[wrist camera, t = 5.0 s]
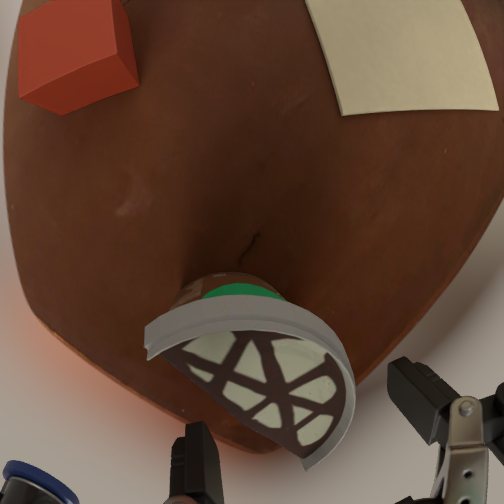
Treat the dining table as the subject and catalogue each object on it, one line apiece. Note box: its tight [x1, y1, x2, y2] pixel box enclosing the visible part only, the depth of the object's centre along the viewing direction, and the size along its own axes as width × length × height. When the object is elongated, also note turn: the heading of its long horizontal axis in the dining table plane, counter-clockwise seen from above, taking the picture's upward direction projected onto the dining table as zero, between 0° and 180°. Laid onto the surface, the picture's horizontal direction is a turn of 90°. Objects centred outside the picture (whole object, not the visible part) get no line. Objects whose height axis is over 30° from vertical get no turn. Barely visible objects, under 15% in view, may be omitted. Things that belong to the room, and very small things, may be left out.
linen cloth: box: [305, 0, 499, 116], centre depth 18 cm, size 20×18×1 cm
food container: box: [144, 271, 356, 472], centre depth 17 cm, size 12×6×10 cm, turn 39°
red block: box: [18, 0, 140, 116], centre depth 13 cm, size 6×6×6 cm
